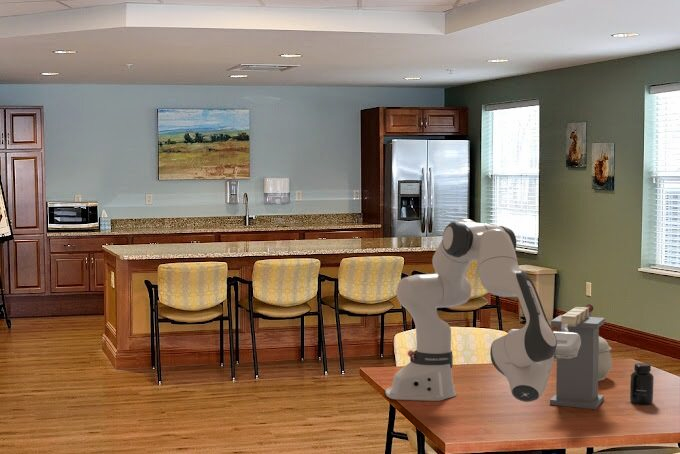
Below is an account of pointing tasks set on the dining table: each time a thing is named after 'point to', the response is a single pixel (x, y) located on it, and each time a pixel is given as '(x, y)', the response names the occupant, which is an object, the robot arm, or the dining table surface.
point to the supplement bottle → (641, 385)
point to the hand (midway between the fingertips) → (548, 325)
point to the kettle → (602, 354)
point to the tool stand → (579, 368)
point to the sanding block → (575, 316)
